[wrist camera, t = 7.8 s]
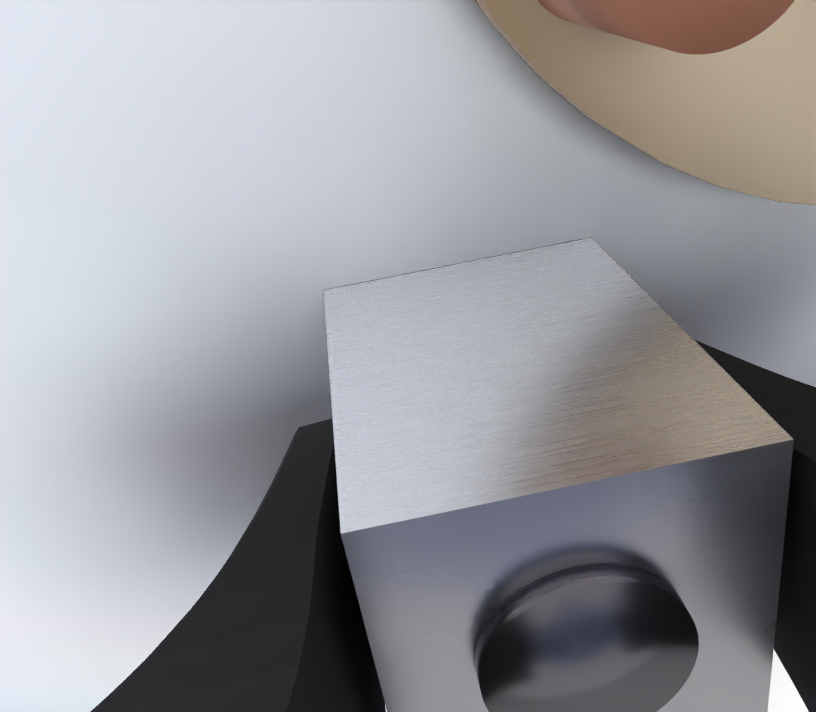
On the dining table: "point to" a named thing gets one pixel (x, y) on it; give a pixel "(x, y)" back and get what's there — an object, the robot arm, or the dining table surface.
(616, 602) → the grey block
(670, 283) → the dining table surface
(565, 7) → the turntable
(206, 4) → the dining table surface
